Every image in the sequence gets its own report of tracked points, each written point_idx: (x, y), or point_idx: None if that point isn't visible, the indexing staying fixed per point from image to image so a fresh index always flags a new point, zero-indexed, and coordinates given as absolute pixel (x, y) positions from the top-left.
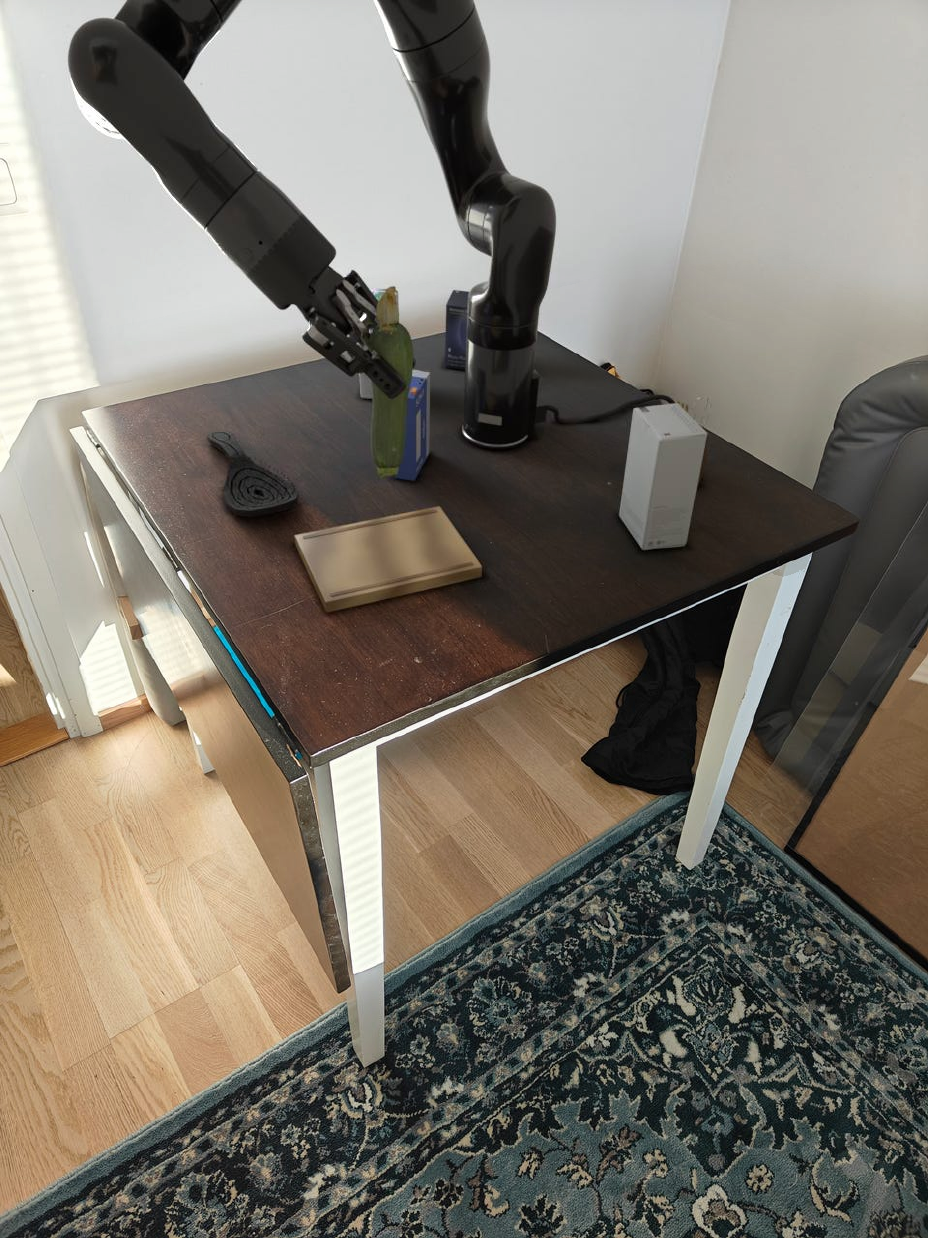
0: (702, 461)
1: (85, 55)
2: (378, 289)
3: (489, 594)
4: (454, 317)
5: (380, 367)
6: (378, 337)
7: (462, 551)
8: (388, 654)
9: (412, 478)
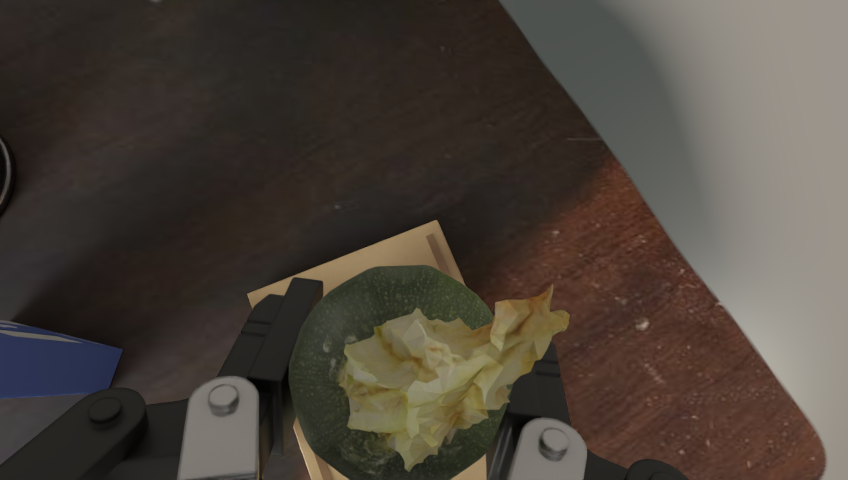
0: None
1: None
2: None
3: (479, 214)
4: None
5: (552, 410)
6: (484, 434)
7: (395, 251)
8: (635, 370)
9: (119, 352)
